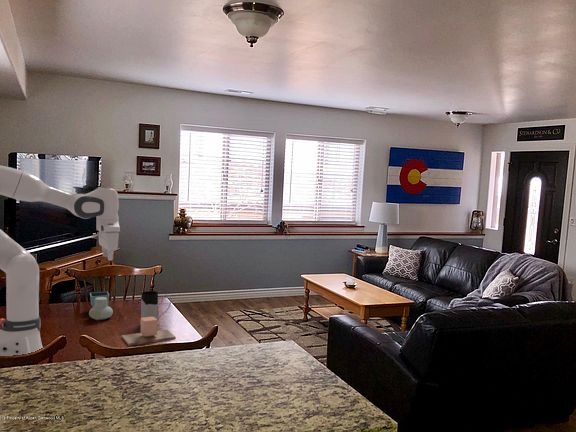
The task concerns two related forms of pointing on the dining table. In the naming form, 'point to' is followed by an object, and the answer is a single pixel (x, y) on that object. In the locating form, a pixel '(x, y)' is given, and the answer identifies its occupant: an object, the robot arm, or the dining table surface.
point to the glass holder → (150, 305)
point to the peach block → (148, 326)
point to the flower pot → (98, 294)
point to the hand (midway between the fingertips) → (107, 258)
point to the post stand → (147, 337)
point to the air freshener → (100, 309)
